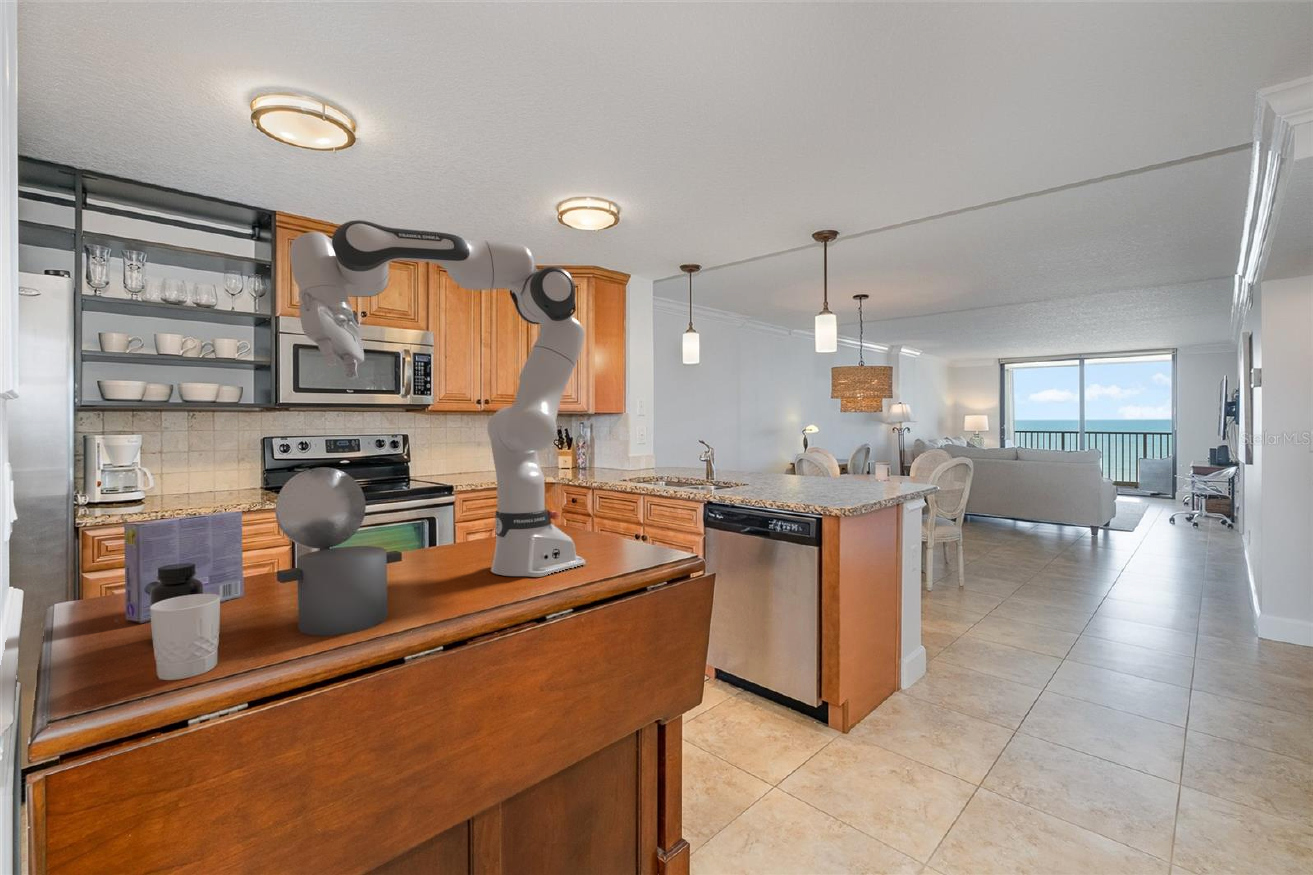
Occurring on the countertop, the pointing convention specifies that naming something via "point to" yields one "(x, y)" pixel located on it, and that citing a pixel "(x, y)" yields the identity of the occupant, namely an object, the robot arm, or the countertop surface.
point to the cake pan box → (183, 556)
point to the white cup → (185, 635)
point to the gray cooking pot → (341, 589)
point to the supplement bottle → (175, 583)
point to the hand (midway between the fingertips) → (342, 371)
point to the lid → (320, 508)
